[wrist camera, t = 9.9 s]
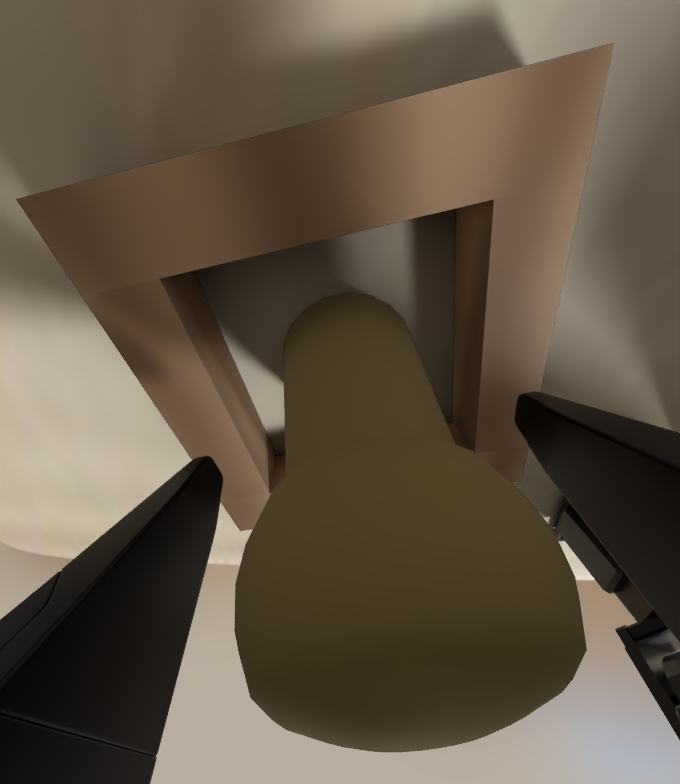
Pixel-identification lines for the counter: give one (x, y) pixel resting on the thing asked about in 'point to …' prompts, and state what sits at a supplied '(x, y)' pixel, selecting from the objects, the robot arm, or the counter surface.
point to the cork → (394, 558)
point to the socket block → (336, 218)
